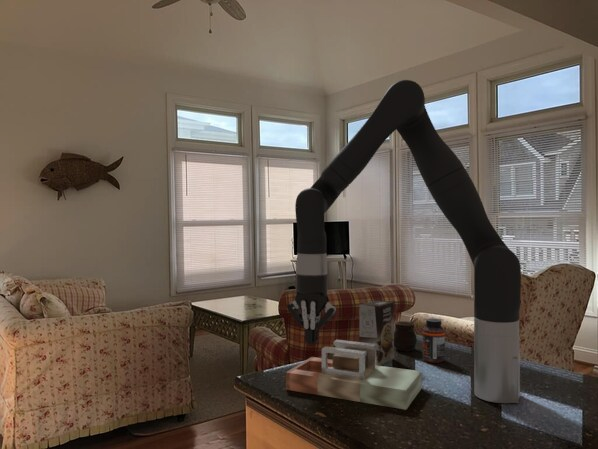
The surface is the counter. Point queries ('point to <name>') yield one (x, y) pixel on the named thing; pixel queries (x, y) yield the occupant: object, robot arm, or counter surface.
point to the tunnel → (351, 350)
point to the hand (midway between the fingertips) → (311, 343)
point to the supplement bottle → (433, 341)
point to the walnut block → (346, 362)
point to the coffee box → (378, 328)
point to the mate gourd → (404, 336)
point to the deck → (357, 384)
